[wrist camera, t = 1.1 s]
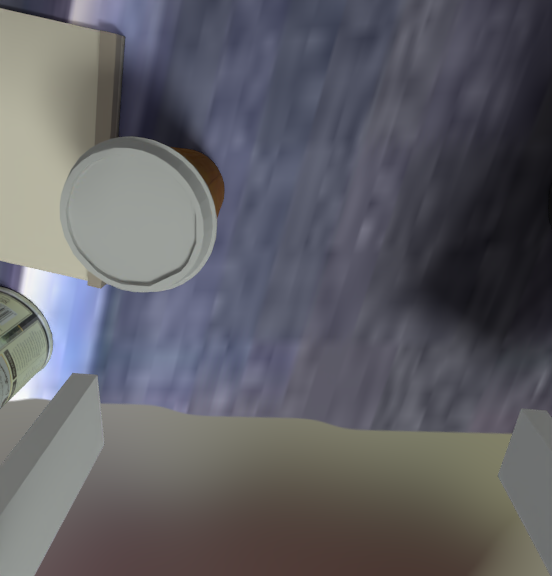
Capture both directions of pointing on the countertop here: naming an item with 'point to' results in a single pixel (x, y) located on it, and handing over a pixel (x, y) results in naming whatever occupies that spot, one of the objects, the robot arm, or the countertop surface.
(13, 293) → the coffee can
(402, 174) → the countertop surface
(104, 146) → the disposable coffee cup
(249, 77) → the countertop surface
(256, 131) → the countertop surface
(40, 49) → the cream flat rectangular board
